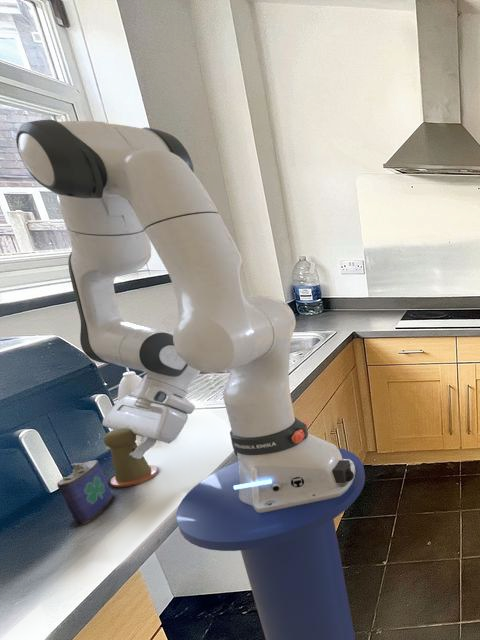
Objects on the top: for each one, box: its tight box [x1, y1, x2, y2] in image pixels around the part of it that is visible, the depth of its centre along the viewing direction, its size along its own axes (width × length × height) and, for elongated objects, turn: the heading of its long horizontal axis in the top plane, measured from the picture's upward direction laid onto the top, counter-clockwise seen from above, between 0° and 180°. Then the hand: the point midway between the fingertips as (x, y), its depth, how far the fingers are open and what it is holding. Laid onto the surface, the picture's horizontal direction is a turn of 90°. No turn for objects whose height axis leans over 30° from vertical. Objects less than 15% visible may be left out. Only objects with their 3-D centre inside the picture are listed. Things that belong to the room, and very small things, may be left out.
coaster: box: [109, 464, 159, 488], centre depth 93 cm, size 8×8×1 cm
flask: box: [56, 459, 113, 526], centre depth 81 cm, size 9×3×11 cm, turn 15°
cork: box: [103, 428, 151, 482], centre depth 91 cm, size 6×6×11 cm
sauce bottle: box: [117, 367, 143, 402], centre depth 116 cm, size 8×8×18 cm
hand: (122, 454), depth 91 cm, fingers open, 7 cm apart
